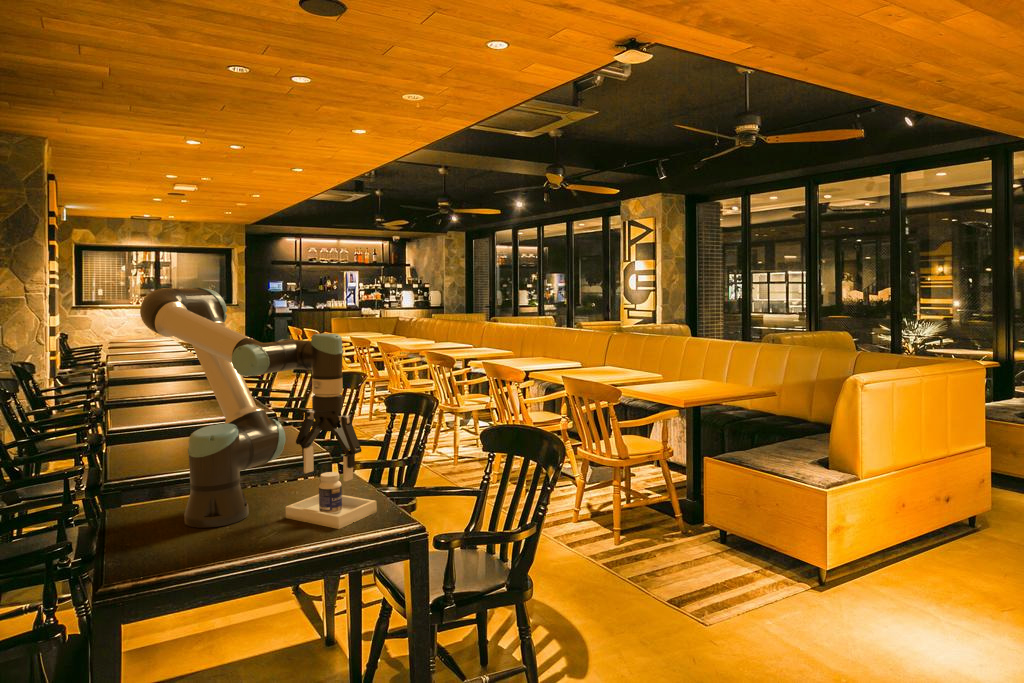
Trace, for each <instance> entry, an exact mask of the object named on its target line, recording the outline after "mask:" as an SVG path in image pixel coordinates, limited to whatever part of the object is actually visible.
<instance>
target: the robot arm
mask: <svg viewBox="0 0 1024 683" xmlns="http://www.w3.org/2000/svg"><path fill="white" fill-rule="evenodd" d="M227 312H228V308H227V305H226V302H225V300H224V298H223V297H222V296H221V294H219V293H218V292H217V291H216V290H213V289H210V288H204V287H192V288H190V287H188V288H182V287H181V288H180V287H179V288H170V287H169V288H168V287H166V288H163V287H162V288H158V289H155V290H153V291H151V292H150V293H149V294H147V295H146V296H145V297H144V298H143V301H142V302H141V305H140V309H139V314H140V318H141V320H142V322H143V324H144V325H145V326H146V327H147V328H148V329H149V330H150V331H152V332H154V333H156V334H158V335H160V336H162V337H166V338H171V337H174V338H177V339H178V340H180V341H183V342H185V343H187V344H190V345H192V348H193V350H194V352H195V354H196V357H197V359H198V361H199V363H200V366H201V368H202V369H203V372H204V374H205V377H206V379H207V381H208V383H209V386H210V388H211V390H212V392H213V395H214V396H215V399H216V401H217V403H218V405H219V408H220V409H221V412H222V414H223V417H224V418H225V422H224V423H217V424H212V425H206V426H203V427H201V428H198V429H197V430H195V431H193V432H192V433H190V435H189V437H188V448H187V454H188V466H189V467H188V468H189V484H190V486H189V487H190V492H189V493H190V494H189V496H188V501H187V502H186V503H187V504H186V508H185V511H184V514H183V516H184V524H185V525H186V526H188V527H191V528H201V529H203V528H206V529H207V528H208V529H209V528H217V527H218V528H219V527H223V526H228V525H231V524H235V523H238V522H240V521H243V520H244V519H246V518H247V517H248V516H249V514H250V513H249V503H248V502H247V499H246V497H245V494H244V492H243V490H242V487H241V478H240V477H241V473H240V472H242V471H245V470H247V469H251V468H255V467H257V466H261V465H266V464H267V463H269V462H272V461H274V460H276V459H278V458H279V457H280V456H281V454H282V453H283V451H284V448H285V444H286V432H285V429H284V426H283V425H282V424H281V422H280V421H278V420H276V419H274V418H270V417H269V416H268V414H267V412H266V410H265V409H264V408H261V407H259V406H257V405H256V402H255V400H254V398H253V396H252V395H253V394H252V393H251V391H250V389H249V386H248V384H247V382H246V380H245V378H244V377H257V376H261V375H266V374H271V373H273V374H274V373H278V372H284V371H292V370H305V371H306V370H307V371H311V385H312V386H311V389H312V390H311V392H312V393H313V395H312V397H311V398H312V400H311V401H312V402H311V403H312V404H311V406H312V408H311V409H310V410H306V411H304V416H303V421H302V424H301V427H300V429H299V431H298V434H297V437H296V440H295V444H296V445H299V446H300V447H301V454H302V456H301V457H302V459H303V474H308V473H312V472H314V468H315V466H314V446H313V442H314V441H315V440H316V438H318V436H319V434H320V433H321V431H327V432H328V433H329V432H330V433H331V434H332V435H334V437H335V439H336V440H337V441H338V443H339V445H340V447H341V448H342V450H343V451H344V455H343V456H342V457H343V458H342V459H343V460H342V461H343V463H342V465H343V466H342V468H343V470H342V471H343V482H348V481H350V480H353V479H354V468H355V466H356V459H355V458H356V455H357V454H360V453H362V447H361V445H360V442H359V439H358V436H357V434H356V432H355V427H354V425H353V421H352V415H351V414H347V415H342V412H341V411H342V409H343V407H344V406H343V405H344V399H343V398H344V396H343V395H342V393H343V392H344V391H343V389H344V388H343V386H344V385H343V356H344V349H343V340H342V336H341V335H340V334H338V333H315V334H314V333H313V335H312V336H311V339H310V340H303V339H295V338H287V339H285V338H284V339H283V338H282V339H280V340H277V341H271V342H261V341H258V340H256V339H253V338H251V337H249V336H248V335H245V334H242V333H240V332H238V331H236V330H233V329H231V328H229V327H226V320H227V317H228V314H227ZM314 421H315V422H314Z"/></svg>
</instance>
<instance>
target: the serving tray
mask: <svg viewBox="0 0 1024 683" xmlns="http://www.w3.org/2000/svg"><path fill="white" fill-rule="evenodd" d="M376 513H378V507H377V500H374V499H373V500H372V499H368V498H363V497H362V498H361V497H357V496H351V495H345V494H342V511H341V512H339V513H337V514H330V513H325V512H320V511H319V493H318V494H316V495H313V496H309V497H307V498H305V499H302V500H300V501H297V502H294V503H292V504H289V505H286V506H285V519H288V520H289V519H290V520H292V521H293V520H294V521H297V522H303V523H307V524H308V523H309V524H314V525H317V526H323V527H328V528H333V529H338V530H340V529H343V528H345V527H346V526H348V525H349V526H350V525H351V524H353V522H354V523H355V522H356V523H357V522H358V521H360V520H362V519H365V518H366V517H368V516H371V515H373V514H376Z"/></svg>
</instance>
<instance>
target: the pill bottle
mask: <svg viewBox="0 0 1024 683" xmlns="http://www.w3.org/2000/svg"><path fill="white" fill-rule="evenodd" d="M319 477H320V480H321V482H320V483H319V485H318V494H319V511H320V512H325V513H330V514H337V513H339V512H341V511H342V495H343V493H342V492H343V491H342V489H343V488H342V486H343V485H342V483H341V481H339V479H340V473H339V472H337V471H329V472H321V473H320V476H319Z"/></svg>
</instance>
